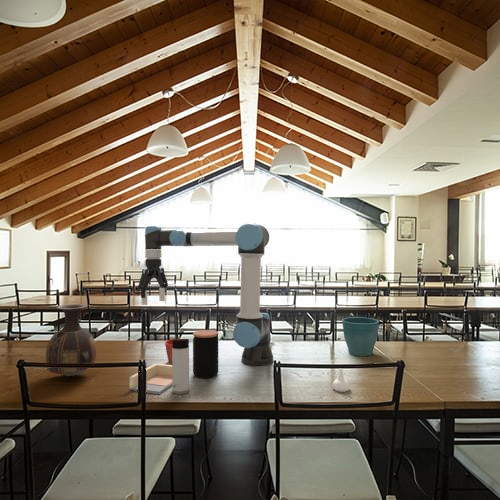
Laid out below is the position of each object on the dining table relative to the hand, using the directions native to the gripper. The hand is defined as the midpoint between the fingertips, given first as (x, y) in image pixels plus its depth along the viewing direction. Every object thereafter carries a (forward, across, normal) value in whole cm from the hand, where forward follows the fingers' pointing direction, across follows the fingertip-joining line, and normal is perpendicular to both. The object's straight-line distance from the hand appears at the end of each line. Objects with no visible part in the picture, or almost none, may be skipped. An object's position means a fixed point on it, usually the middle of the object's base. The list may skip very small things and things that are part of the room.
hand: (153, 302), depth 182 cm
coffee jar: (+28, +8, +33) cm, 44 cm away
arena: (+28, +25, +21) cm, 43 cm away
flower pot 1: (+28, -3, +11) cm, 30 cm away
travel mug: (+28, +28, +34) cm, 52 cm away
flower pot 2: (+28, -52, +89) cm, 107 cm away
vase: (+28, +33, -17) cm, 46 cm away
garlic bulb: (+28, +3, +89) cm, 93 cm away
